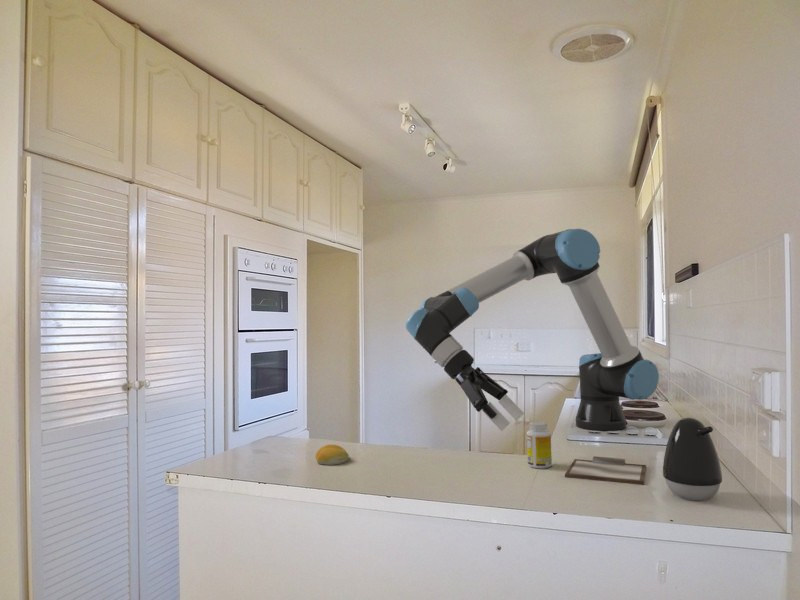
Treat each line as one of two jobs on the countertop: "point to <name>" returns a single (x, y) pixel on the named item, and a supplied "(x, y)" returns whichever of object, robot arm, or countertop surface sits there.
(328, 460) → the bread roll
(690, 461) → the pump dispenser
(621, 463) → the clipboard
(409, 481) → the countertop surface
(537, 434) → the supplement bottle
